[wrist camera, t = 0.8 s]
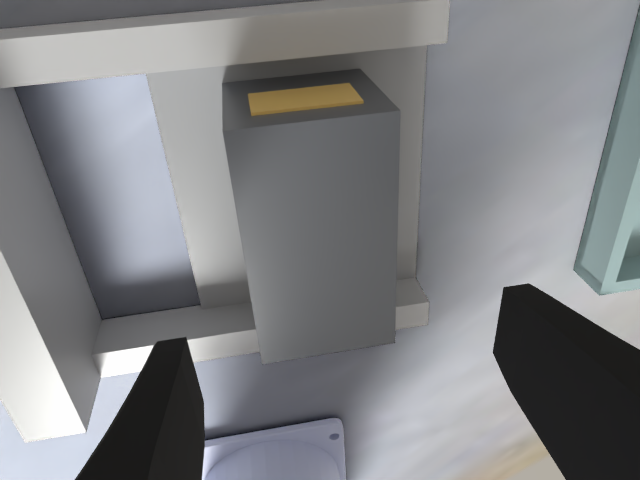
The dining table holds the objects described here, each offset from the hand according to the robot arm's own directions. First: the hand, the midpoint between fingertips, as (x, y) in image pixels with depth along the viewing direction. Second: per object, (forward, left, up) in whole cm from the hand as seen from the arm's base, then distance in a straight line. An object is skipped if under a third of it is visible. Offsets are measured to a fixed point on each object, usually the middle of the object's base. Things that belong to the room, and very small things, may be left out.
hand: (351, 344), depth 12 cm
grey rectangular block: (0, 0, -8) cm, 8 cm away
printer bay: (0, +3, -9) cm, 9 cm away
